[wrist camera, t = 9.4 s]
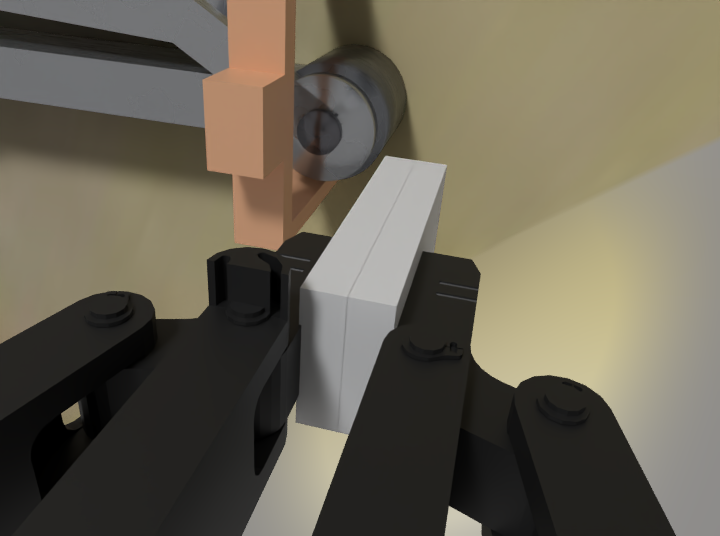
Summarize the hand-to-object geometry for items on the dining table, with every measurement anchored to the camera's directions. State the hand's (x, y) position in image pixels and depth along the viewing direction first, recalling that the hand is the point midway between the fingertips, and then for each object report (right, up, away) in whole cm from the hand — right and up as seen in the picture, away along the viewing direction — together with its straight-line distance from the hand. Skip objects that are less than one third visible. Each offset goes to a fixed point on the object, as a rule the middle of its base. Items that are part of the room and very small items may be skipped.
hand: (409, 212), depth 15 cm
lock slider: (-3, +8, +15) cm, 17 cm away
